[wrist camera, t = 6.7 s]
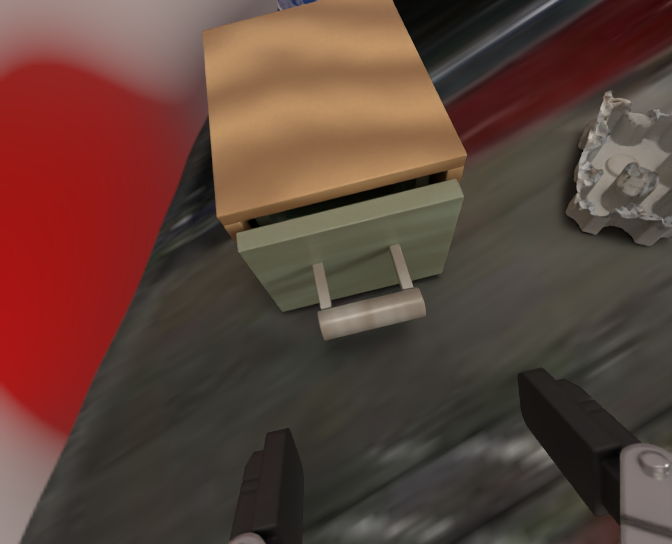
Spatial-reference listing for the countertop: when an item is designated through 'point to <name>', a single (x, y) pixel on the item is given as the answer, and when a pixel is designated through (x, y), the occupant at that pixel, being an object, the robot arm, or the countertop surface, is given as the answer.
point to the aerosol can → (292, 3)
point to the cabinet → (320, 109)
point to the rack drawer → (356, 252)
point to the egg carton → (625, 173)
